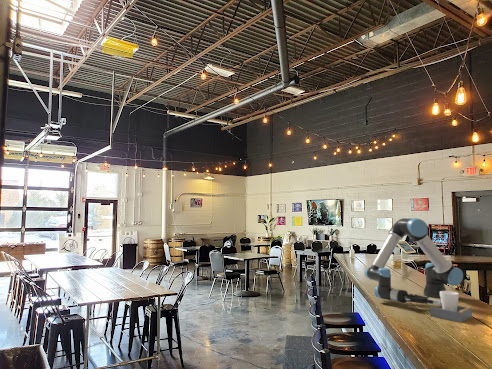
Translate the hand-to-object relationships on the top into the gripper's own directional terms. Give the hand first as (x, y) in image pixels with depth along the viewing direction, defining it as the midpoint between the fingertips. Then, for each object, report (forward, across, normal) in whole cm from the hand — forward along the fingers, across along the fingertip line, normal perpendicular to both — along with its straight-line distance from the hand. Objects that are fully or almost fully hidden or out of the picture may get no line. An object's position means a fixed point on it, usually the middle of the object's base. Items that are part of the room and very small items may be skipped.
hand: (439, 302), depth 207 cm
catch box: (+6, 0, -6) cm, 9 cm away
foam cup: (+5, -1, -7) cm, 8 cm away
